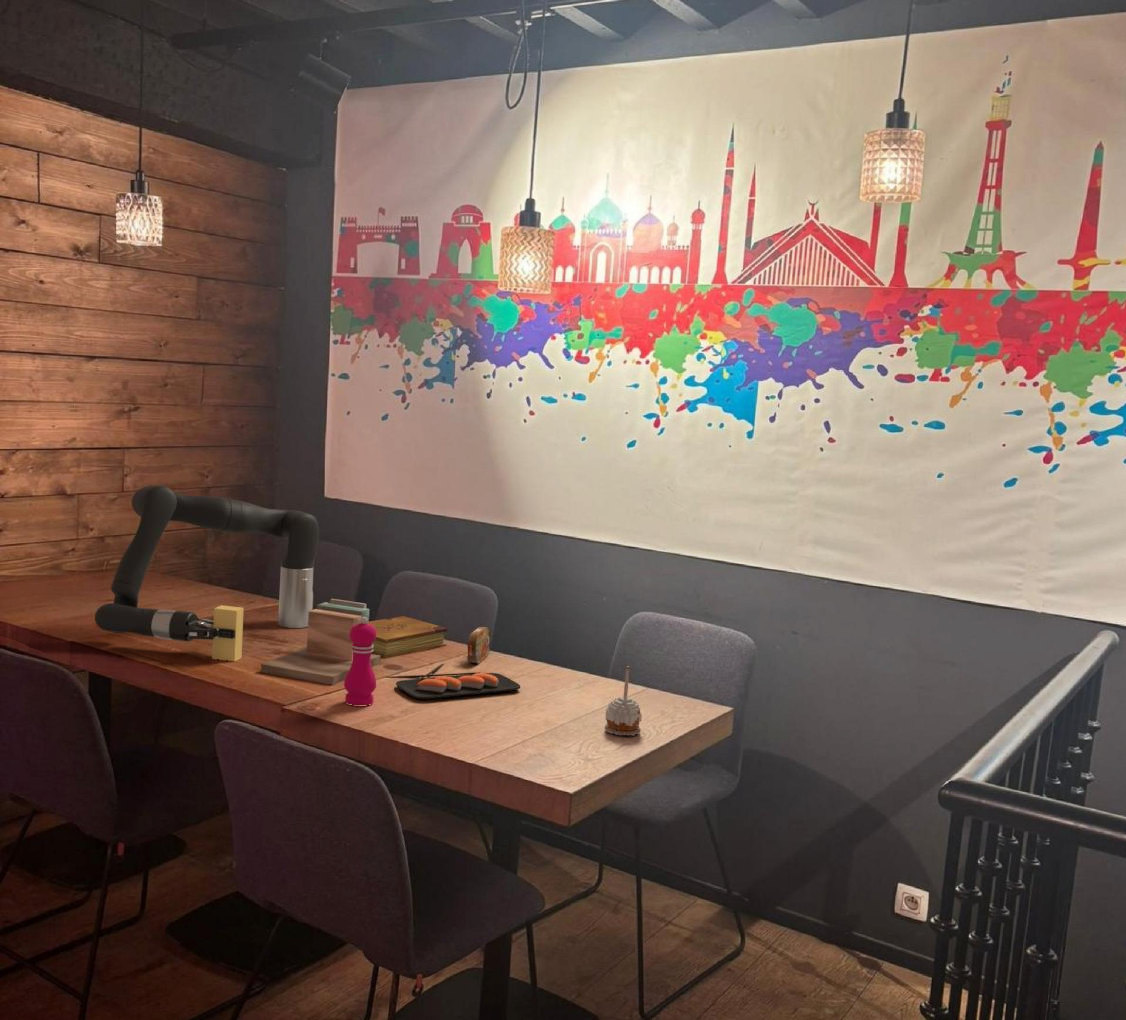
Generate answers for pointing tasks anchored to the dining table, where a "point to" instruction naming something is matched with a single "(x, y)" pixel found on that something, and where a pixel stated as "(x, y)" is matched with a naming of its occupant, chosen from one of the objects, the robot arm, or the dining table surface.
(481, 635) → the tin
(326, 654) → the blocks on base plate
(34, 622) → the dining table surface
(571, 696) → the dining table surface
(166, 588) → the dining table surface
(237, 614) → the tall mustard yellow pillar
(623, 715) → the caramel apple
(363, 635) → the pepper mill
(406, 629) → the diary
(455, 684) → the sushi plate
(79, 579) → the dining table surface
